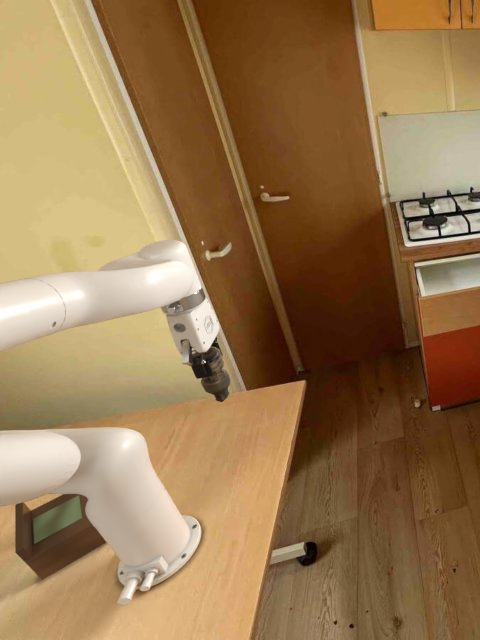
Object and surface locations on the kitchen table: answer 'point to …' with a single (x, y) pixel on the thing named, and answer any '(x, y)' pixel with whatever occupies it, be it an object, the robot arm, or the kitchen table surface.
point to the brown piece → (54, 534)
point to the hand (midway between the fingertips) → (210, 366)
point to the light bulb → (216, 375)
